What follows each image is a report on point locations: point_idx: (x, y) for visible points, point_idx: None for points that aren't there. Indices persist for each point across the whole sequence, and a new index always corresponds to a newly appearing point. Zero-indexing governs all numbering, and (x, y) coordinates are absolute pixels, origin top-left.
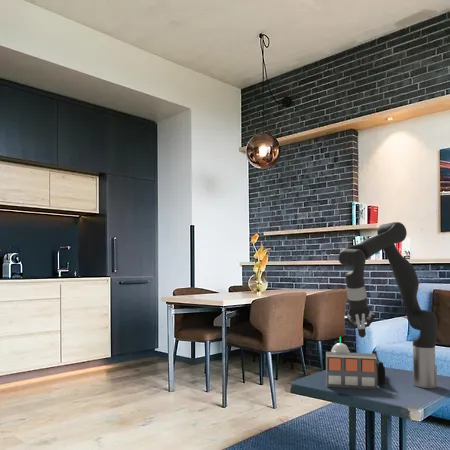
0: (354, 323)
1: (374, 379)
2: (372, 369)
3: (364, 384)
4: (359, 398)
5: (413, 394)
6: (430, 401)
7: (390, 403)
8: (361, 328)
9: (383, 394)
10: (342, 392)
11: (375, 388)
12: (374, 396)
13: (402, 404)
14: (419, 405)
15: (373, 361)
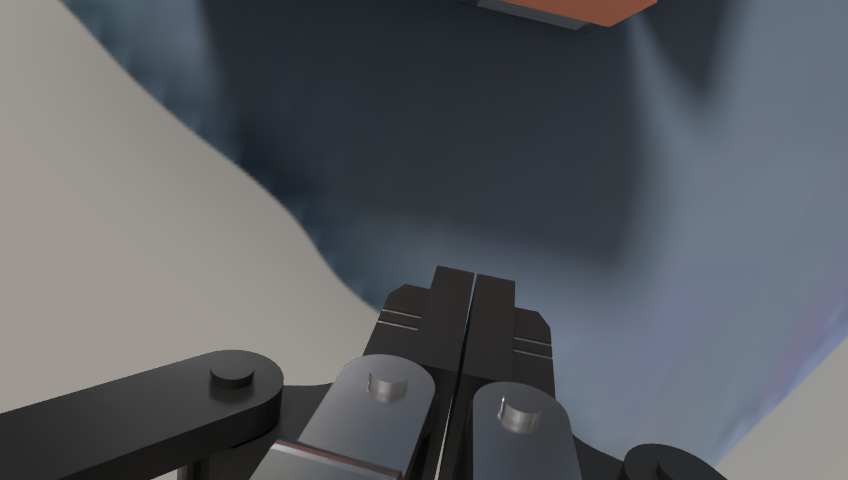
0: (239, 411)
1: None
2: (599, 18)
3: (498, 9)
4: (362, 284)
5: (807, 175)
6: (830, 351)
7: None
8: (444, 456)
9: (582, 175)
10: (279, 117)
11: (580, 28)
12: (493, 230)
13: (608, 422)
14: (709, 441)
15: (641, 3)
